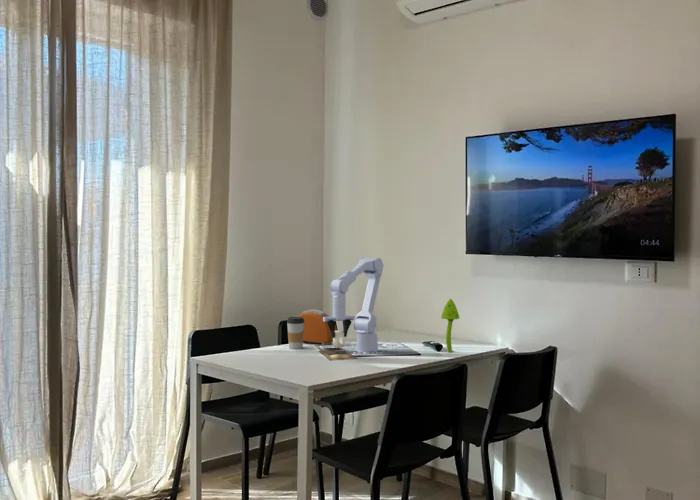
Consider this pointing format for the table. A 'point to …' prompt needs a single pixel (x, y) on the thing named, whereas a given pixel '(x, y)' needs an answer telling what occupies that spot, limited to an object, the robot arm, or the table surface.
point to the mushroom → (449, 320)
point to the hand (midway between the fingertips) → (339, 336)
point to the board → (337, 359)
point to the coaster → (340, 356)
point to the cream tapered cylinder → (339, 339)
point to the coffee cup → (295, 332)
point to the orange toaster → (316, 327)
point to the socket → (334, 351)
